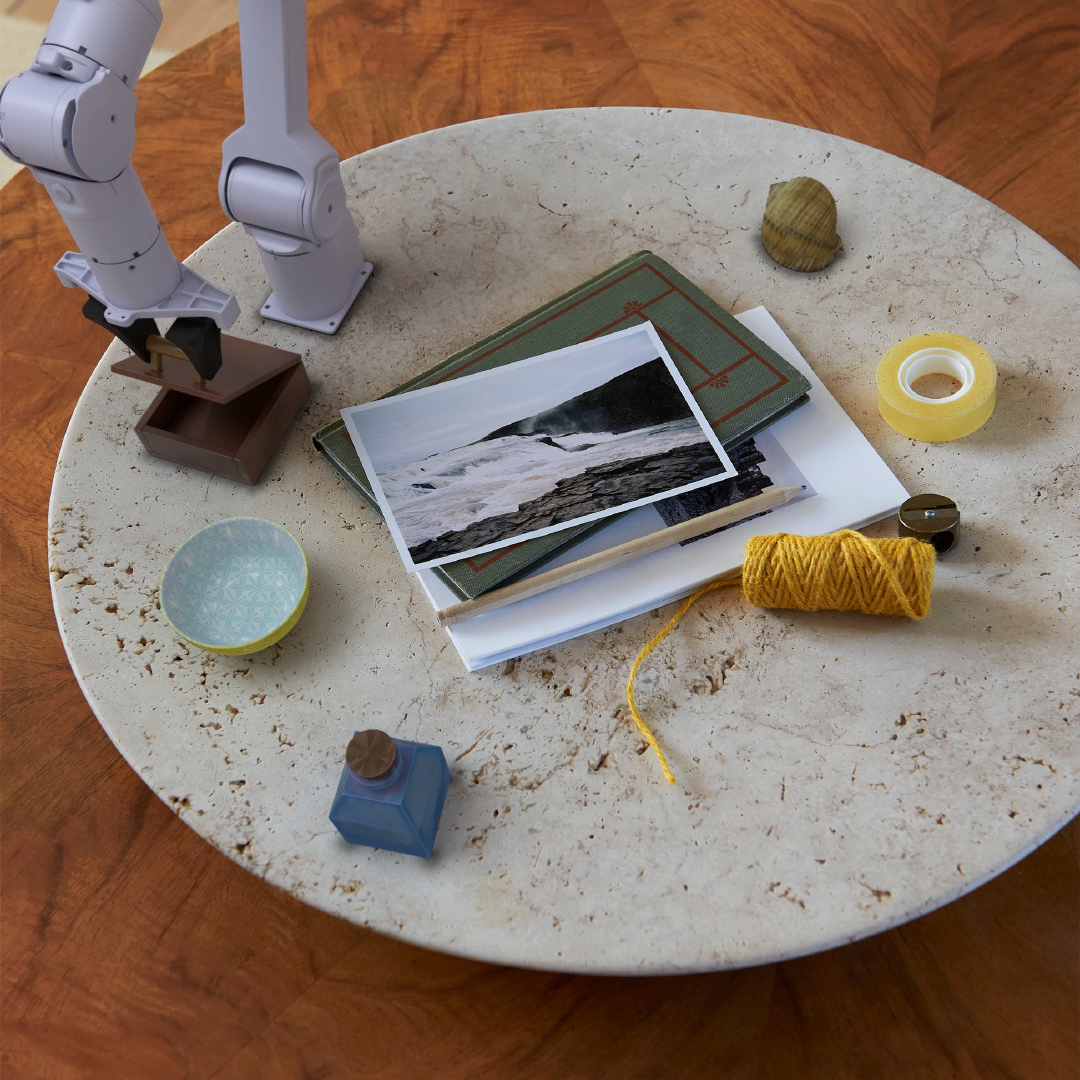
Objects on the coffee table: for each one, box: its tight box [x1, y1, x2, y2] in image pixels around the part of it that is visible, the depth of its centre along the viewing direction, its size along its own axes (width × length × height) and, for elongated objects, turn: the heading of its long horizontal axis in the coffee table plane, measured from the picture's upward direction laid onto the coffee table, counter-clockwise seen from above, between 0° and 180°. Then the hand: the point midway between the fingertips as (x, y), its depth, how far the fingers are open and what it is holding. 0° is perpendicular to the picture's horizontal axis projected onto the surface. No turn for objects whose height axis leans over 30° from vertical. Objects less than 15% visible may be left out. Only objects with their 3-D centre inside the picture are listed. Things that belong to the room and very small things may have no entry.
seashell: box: [760, 176, 845, 273], centre depth 102 cm, size 10×7×8 cm
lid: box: [110, 332, 303, 404], centre depth 88 cm, size 12×11×4 cm
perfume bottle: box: [327, 728, 452, 860], centre depth 71 cm, size 6×6×12 cm
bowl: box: [158, 515, 311, 656], centre depth 82 cm, size 11×12×6 cm
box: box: [133, 359, 313, 487], centre depth 93 cm, size 12×11×4 cm
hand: (183, 362), depth 85 cm, fingers closed on lid, 5 cm apart
